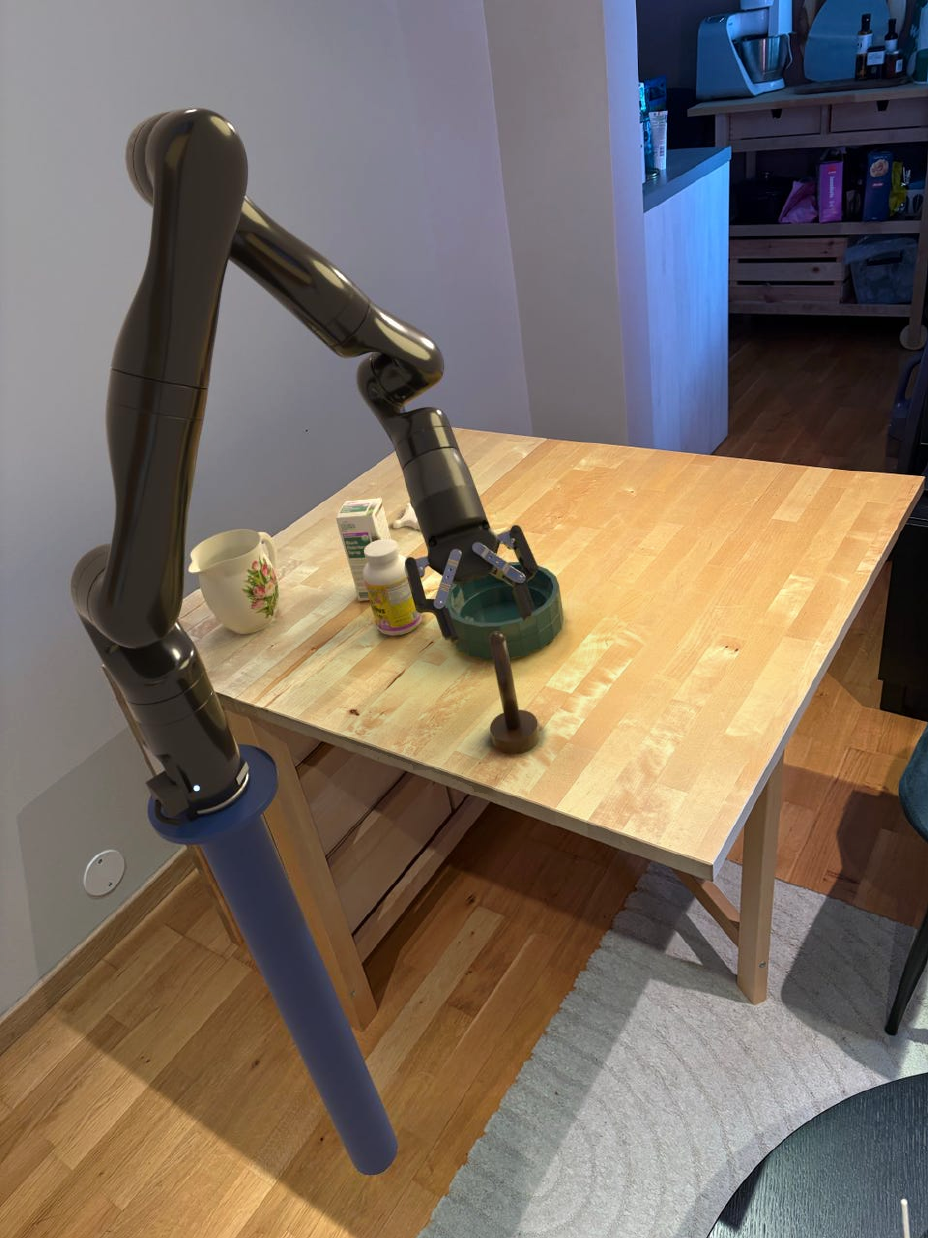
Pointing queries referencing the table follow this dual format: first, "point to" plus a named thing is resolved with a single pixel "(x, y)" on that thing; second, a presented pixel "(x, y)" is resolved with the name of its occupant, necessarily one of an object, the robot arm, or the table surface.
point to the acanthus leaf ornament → (407, 519)
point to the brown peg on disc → (510, 706)
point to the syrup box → (361, 535)
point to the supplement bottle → (389, 588)
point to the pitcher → (238, 578)
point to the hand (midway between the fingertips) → (491, 630)
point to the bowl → (505, 614)
